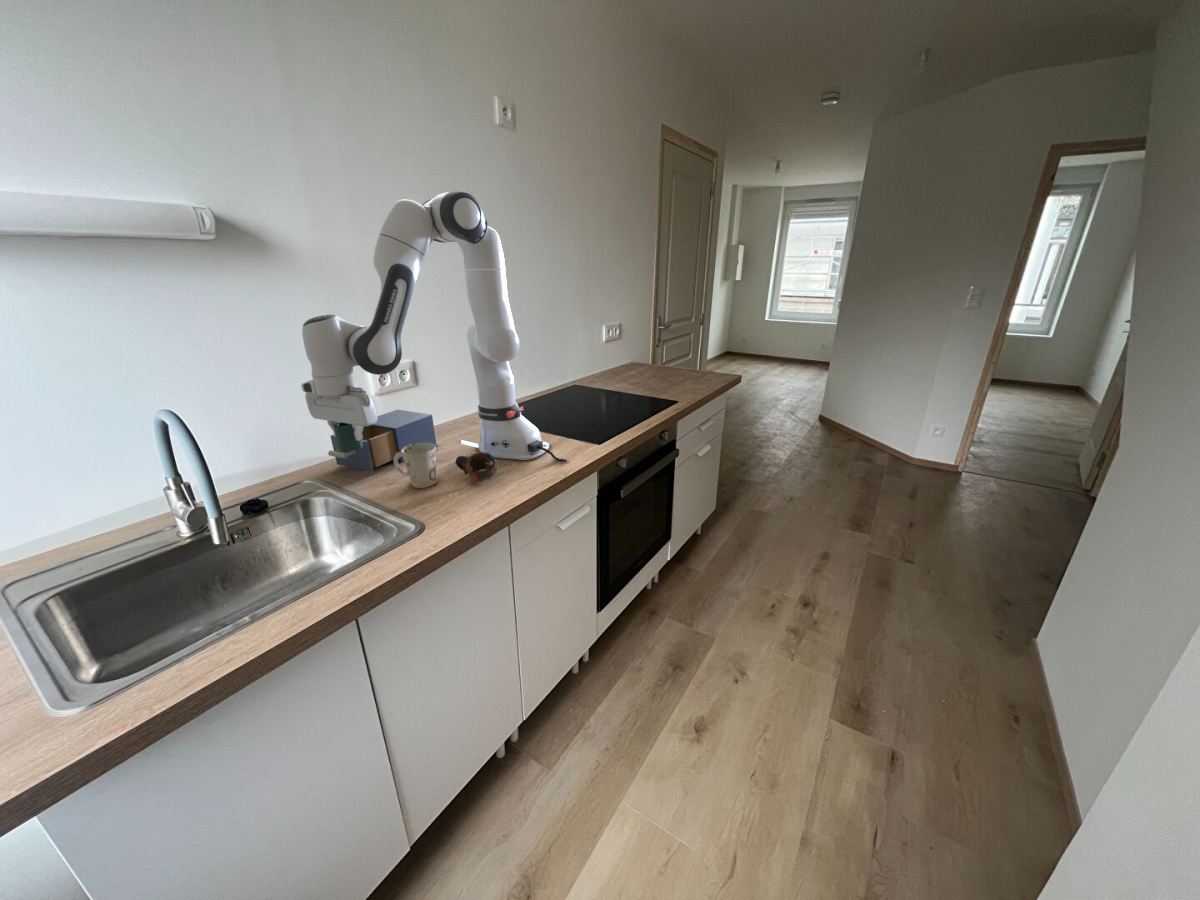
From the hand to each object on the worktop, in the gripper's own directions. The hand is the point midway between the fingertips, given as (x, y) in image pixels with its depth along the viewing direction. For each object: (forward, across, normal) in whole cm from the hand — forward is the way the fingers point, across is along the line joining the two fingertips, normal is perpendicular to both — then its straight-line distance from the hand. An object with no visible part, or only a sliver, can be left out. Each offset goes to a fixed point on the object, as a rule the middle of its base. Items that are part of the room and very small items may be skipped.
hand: (348, 438), depth 115 cm
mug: (+13, -14, -6) cm, 20 cm away
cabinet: (+13, +8, -22) cm, 27 cm away
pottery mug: (+14, -27, -15) cm, 34 cm away
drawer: (+12, +8, -10) cm, 18 cm away
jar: (+3, 0, 0) cm, 3 cm away
